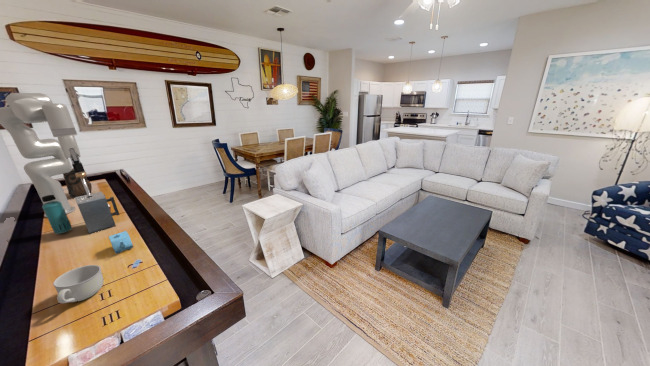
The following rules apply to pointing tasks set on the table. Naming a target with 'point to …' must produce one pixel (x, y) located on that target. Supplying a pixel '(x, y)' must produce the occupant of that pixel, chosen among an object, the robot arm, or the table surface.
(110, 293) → the table surface
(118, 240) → the printed blue cube
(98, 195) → the coffee press
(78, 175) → the plunger
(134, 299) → the table surface
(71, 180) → the owl
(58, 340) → the table surface
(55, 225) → the beverage bottle
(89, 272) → the teacup
